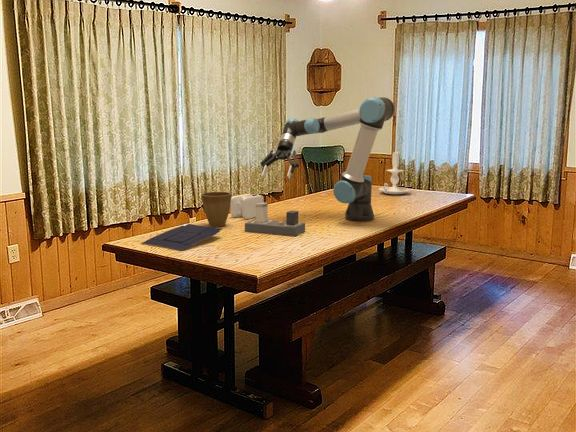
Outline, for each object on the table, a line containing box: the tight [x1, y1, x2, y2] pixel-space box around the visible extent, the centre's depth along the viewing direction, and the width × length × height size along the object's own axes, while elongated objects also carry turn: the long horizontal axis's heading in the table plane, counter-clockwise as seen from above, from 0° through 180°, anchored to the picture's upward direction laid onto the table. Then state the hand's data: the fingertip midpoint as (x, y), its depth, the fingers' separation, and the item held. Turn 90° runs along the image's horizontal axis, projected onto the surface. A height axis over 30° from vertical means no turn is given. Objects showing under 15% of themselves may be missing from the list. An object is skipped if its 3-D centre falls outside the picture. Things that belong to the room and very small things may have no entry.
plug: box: [255, 202, 269, 223], centre depth 293 cm, size 4×5×12 cm
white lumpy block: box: [230, 193, 265, 220], centre depth 325 cm, size 15×11×12 cm
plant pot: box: [200, 191, 233, 228], centre depth 303 cm, size 15×15×16 cm
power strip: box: [244, 210, 306, 237], centre depth 291 cm, size 26×12×10 cm, turn 67°
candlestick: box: [378, 151, 411, 195], centre depth 398 cm, size 21×25×28 cm
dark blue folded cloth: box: [140, 223, 223, 252], centre depth 273 cm, size 24×30×4 cm
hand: (275, 177), depth 304 cm, fingers open, 13 cm apart
